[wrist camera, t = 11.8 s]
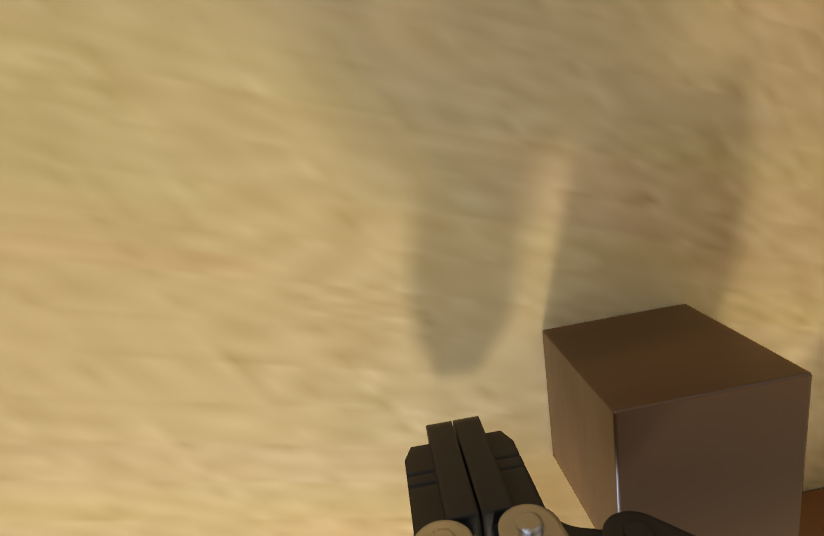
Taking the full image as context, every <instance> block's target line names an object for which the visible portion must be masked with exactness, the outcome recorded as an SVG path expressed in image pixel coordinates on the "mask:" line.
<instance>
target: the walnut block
mask: <svg viewBox="0 0 824 536" xmlns="http://www.w3.org/2000/svg"><path fill="white" fill-rule="evenodd" d="M543 344H544V355H545V367H546V378H547V389H548V401H549V412H550V423H551V435H552V446H553V456H554V458H555V459H556V461H557V463H558V464H559V466H560V468H561V470H562V471H563V473H564V475H565V477H566V478H567V480H568V482H569V483H570V485H571V487H572V489H573V490H574V492H575V494H576V496H577V497H578V499H579V501H580V503H581V504H582V506H583V508H584V509H585V511H586V513H587V515H588V516H589V518H590V520H591V522H592V523H593V525H594V527H595V528H596V529H602V528H603V525H604V523H605V521H606V520H607V519H608V518H609V517H610V516H611V515H613V514H615V513H618V512H622V511H637V512H642V513H645V514H648V515H651V516H653V517H655V518H657V519H660V520H662V521H664V522H666V523H668V524H671V525H673V526H675V527H677V528H679V529H682V530H684V531H686V532H688V533H690V534H693V535H695V536H798V535H799V527H800V515H801V503H802V491H803V478H804V466H805V454H806V442H807V429H808V417H809V405H810V393H811V381H812V374H811V373H810V372H809V371H807V370H805V369H803V368H801V367H800V366H798V365H796V364H794V363H792V362H790V361H789V360H787V359H785V358H783V357H781V356H780V355H778V354H776V353H774V352H772V351H770V350H769V349H767V348H765V347H763V346H761V345H760V344H758V343H756V342H754V341H752V340H751V339H749V338H747V337H745V336H743V335H741V334H740V333H738V332H736V331H734V330H732V329H731V328H729V327H727V326H725V325H723V324H721V323H720V322H718V321H716V320H714V319H712V318H711V317H709V316H707V315H705V314H703V313H702V312H700V311H698V310H696V309H694V308H692V307H691V306H689V305H687V304H681V305H676V306H670V307H665V308H660V309H654V310H649V311H644V312H638V313H633V314H627V315H622V316H617V317H611V318H606V319H600V320H595V321H590V322H584V323H579V324H573V325H568V326H563V327H557V328H552V329H547V330H543Z"/></svg>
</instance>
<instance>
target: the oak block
mask: <svg viewBox="0 0 824 536" xmlns="http://www.w3.org/2000/svg"><path fill="white" fill-rule="evenodd" d="M798 536H824V488H823V489H818V490H813V491H809V492H804V493H802V503H801V515H800V527H799V535H798Z"/></svg>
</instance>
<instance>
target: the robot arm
mask: <svg viewBox="0 0 824 536" xmlns="http://www.w3.org/2000/svg"><path fill="white" fill-rule="evenodd" d="M426 430H427V436H428V442H429V444H427V445H421V446H416V447H411V448H410V450H409V453H408V455H407V457H406V459H405V466H406V474H407V482H408V490H409V498H410V506H411V514H412V522H413V530H414V536H695V535H693V534H690V533H688V532H686V531H684V530H682V529H679V528H677V527H675V526H673V525H671V524H668V523H666V522H664V521H662V520H660V519H657V518H655V517H653V516H651V515H648V514H645V513H642V512H637V511H622V512H618V513H615V514H613V515H611V516H610V517H609V518H608V519H607V520H606V521H605V523H604V525H603V528H602V529H589V528H579V527H574V526H570V525H567V524H565V523H563V522H561V521H560V520H559V519H558V517H557V516H556V515H555V514H554V513H553V512H551V511H550V510H548V509H546V508H545V506H544V504H543V502H542V500H541V498H540V496H539V494H538V492H537V490H536V488H535V485H534V483H533V481H532V479H531V477H530V475H529V473H528V471H527V469H526V467H525V466H524V463H523V460H522V458H521V456H520V455H519V452H518V450H517V448H516V446H515V444H514V442H513V440H512V439H510V438H509V437H508V436H506V435H505V434H504V433H503V432H501V431H496V432H491V433H485V431H484V429H483V426H482V424H481V421H480V419H479V417H478V416H475V417H470V418H464V419H459V420H453V425H452V422H451V421H449V422H443V423H438V424H432V425H427V426H426Z"/></svg>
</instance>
